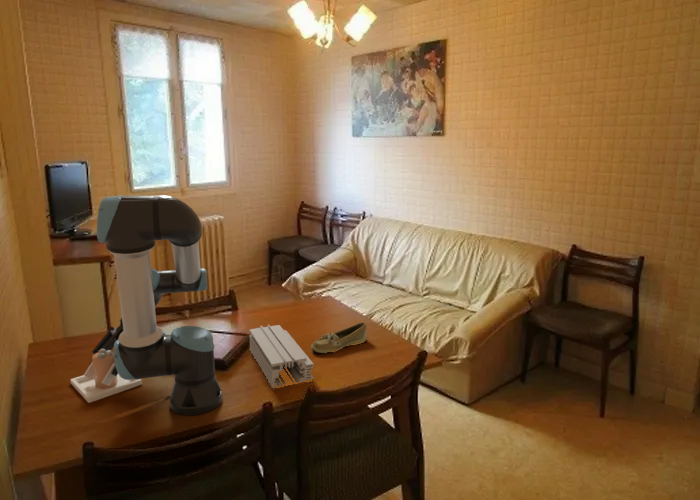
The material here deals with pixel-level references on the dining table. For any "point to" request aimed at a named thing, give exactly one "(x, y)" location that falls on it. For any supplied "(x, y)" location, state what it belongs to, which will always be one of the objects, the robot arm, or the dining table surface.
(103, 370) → the pebble cup
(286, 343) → the aluminum extrusion profile
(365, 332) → the boat shoe
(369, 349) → the dining table surface
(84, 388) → the tray
